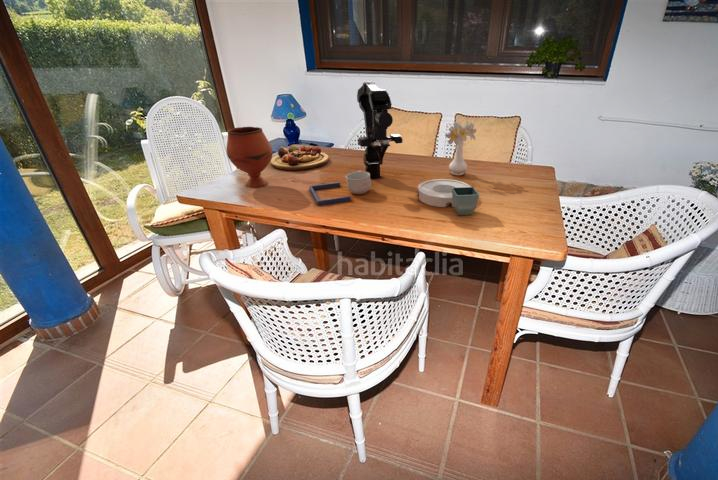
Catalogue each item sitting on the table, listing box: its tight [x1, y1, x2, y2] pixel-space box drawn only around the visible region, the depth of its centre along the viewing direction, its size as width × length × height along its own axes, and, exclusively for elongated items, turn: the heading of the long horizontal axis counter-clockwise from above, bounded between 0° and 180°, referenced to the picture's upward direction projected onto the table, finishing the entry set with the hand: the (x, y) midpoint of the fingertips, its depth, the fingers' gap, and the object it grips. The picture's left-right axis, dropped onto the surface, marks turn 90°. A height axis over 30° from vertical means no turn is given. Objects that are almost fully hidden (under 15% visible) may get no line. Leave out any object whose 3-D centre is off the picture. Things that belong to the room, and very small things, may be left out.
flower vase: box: [444, 119, 477, 176], centre depth 174 cm, size 13×18×25 cm
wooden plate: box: [269, 144, 330, 171], centre depth 197 cm, size 32×32×8 cm
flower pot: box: [452, 186, 480, 216], centre depth 138 cm, size 9×9×9 cm
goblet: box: [226, 126, 273, 188], centre depth 163 cm, size 19×19×25 cm
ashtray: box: [417, 178, 472, 208], centre depth 154 cm, size 23×23×4 cm
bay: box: [308, 181, 352, 206], centre depth 157 cm, size 14×20×2 cm
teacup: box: [345, 170, 372, 195], centre depth 159 cm, size 14×11×8 cm
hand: (380, 160), depth 158 cm, fingers closed
